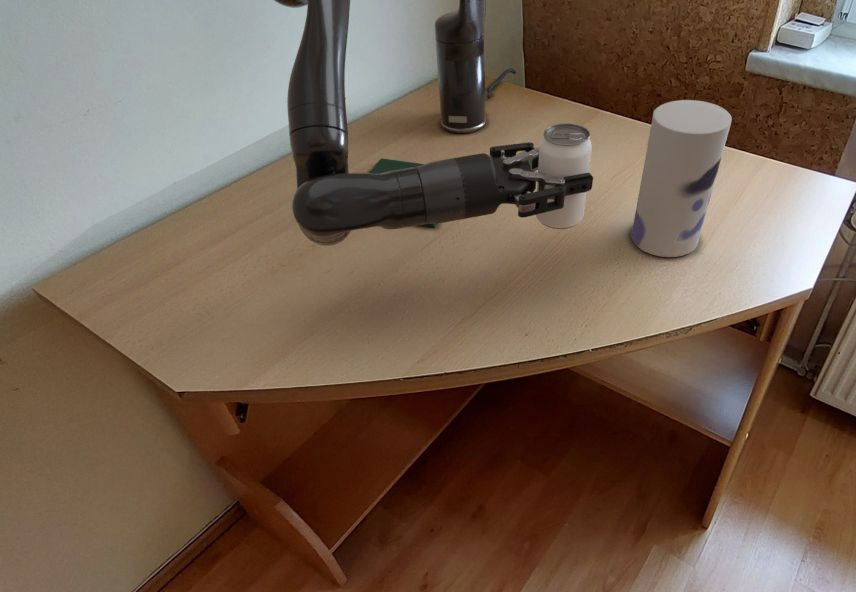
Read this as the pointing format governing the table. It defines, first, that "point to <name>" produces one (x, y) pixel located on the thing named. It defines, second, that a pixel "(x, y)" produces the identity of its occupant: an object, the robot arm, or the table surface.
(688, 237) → the container
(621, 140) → the table surface
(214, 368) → the table surface
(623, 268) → the table surface
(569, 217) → the can
